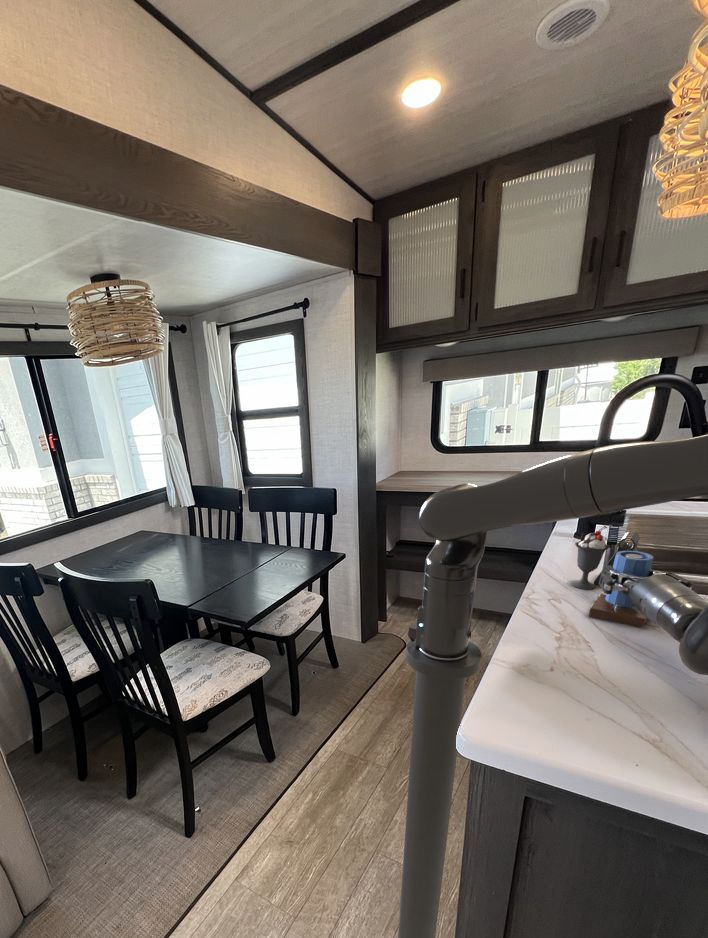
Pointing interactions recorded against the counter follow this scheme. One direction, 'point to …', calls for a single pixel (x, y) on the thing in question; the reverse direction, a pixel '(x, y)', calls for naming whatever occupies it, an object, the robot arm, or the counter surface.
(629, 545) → the phone stand
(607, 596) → the blue sleeve
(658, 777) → the counter surface
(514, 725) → the counter surface
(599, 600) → the wooden base post
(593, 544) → the sundae
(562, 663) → the counter surface
